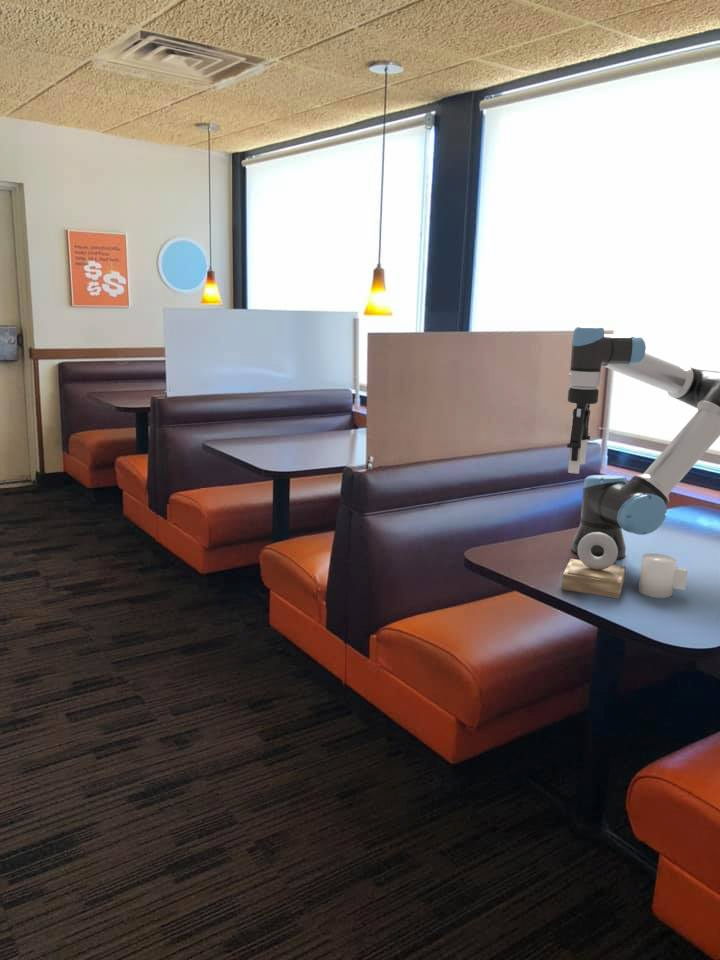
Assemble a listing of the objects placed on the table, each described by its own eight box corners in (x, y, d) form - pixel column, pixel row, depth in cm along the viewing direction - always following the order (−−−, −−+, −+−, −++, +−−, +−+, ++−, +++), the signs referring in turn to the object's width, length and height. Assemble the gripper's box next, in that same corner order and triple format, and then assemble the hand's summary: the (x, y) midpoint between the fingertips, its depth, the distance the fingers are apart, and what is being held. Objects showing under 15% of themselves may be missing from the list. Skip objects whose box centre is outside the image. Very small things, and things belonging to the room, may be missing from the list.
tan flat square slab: (569, 572, 206) (570, 557, 205) (623, 580, 201) (625, 565, 200) (561, 589, 194) (562, 573, 193) (619, 598, 188) (620, 581, 187)
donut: (574, 568, 196) (578, 531, 194) (576, 564, 200) (580, 527, 197) (615, 574, 193) (619, 536, 190) (616, 570, 196) (620, 533, 194)
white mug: (639, 584, 199) (643, 551, 197) (684, 591, 194) (688, 557, 193) (637, 594, 191) (641, 560, 189) (684, 602, 187) (688, 567, 185)
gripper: (574, 382, 209) (568, 458, 214) (562, 390, 187) (555, 475, 191) (603, 384, 206) (596, 461, 211) (594, 392, 184) (586, 478, 188)
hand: (576, 468), depth 201 cm, fingers open, 13 cm apart
